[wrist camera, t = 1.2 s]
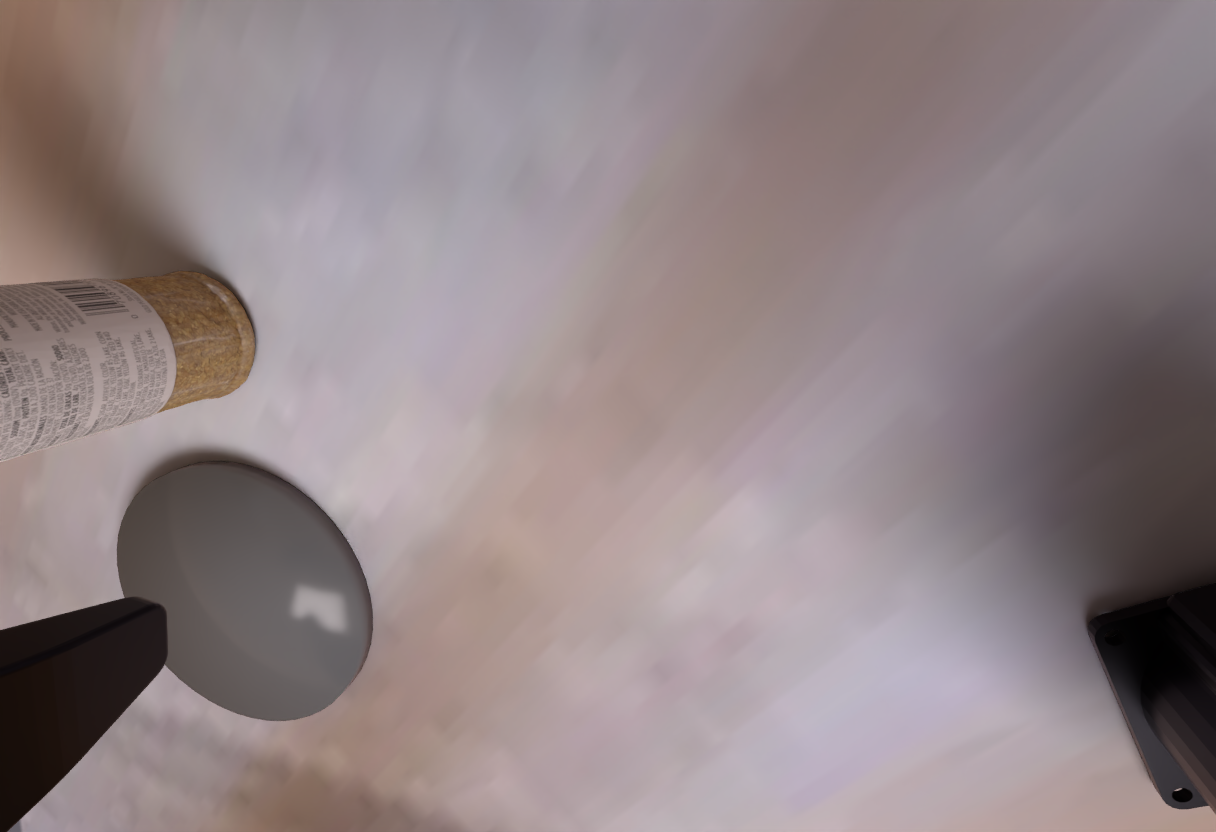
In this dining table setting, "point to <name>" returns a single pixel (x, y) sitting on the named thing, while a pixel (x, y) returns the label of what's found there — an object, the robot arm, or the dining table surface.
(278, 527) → the slate gray plate
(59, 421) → the sprinkles bottle
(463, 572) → the dining table surface
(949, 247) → the dining table surface
